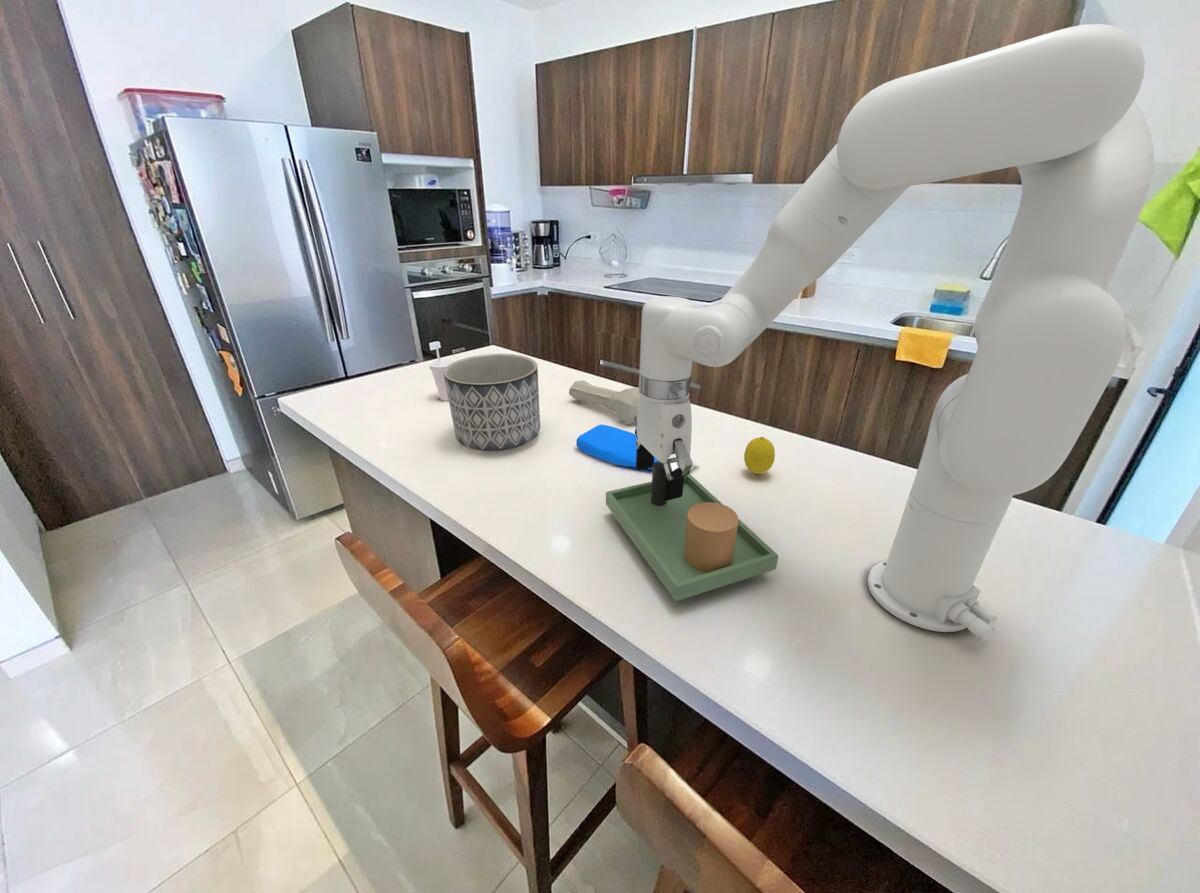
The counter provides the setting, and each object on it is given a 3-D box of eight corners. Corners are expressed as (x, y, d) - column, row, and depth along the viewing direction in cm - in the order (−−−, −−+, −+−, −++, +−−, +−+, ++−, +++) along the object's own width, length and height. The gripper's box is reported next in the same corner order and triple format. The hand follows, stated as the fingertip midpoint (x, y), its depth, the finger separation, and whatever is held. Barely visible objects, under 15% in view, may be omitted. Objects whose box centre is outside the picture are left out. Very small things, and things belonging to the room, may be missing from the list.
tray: (776, 569, 70) (785, 523, 66) (675, 601, 64) (679, 553, 61) (687, 484, 89) (691, 445, 86) (605, 504, 84) (605, 463, 81)
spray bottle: (571, 438, 104) (674, 476, 91) (603, 420, 112) (701, 453, 98) (572, 451, 105) (672, 490, 92) (603, 432, 113) (700, 466, 100)
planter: (438, 453, 105) (424, 379, 97) (479, 416, 122) (470, 351, 114) (523, 463, 101) (516, 387, 93) (553, 423, 117) (549, 356, 110)
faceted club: (629, 428, 112) (556, 404, 129) (652, 426, 119) (580, 403, 135) (635, 390, 110) (561, 370, 126) (658, 390, 116) (584, 371, 133)
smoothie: (434, 395, 135) (425, 344, 128) (459, 392, 136) (451, 342, 130) (435, 403, 129) (425, 351, 123) (460, 400, 131) (452, 348, 124)
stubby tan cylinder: (742, 565, 69) (748, 524, 66) (700, 578, 67) (704, 536, 64) (715, 536, 75) (719, 497, 71) (675, 548, 72) (678, 508, 69)
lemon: (772, 482, 93) (779, 445, 90) (742, 480, 94) (747, 442, 91) (770, 468, 98) (776, 431, 94) (741, 465, 99) (746, 429, 95)
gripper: (719, 402, 68) (706, 506, 76) (659, 363, 82) (654, 454, 90) (670, 410, 65) (662, 516, 73) (617, 369, 79) (616, 462, 87)
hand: (657, 482), depth 82 cm, fingers open, 9 cm apart
